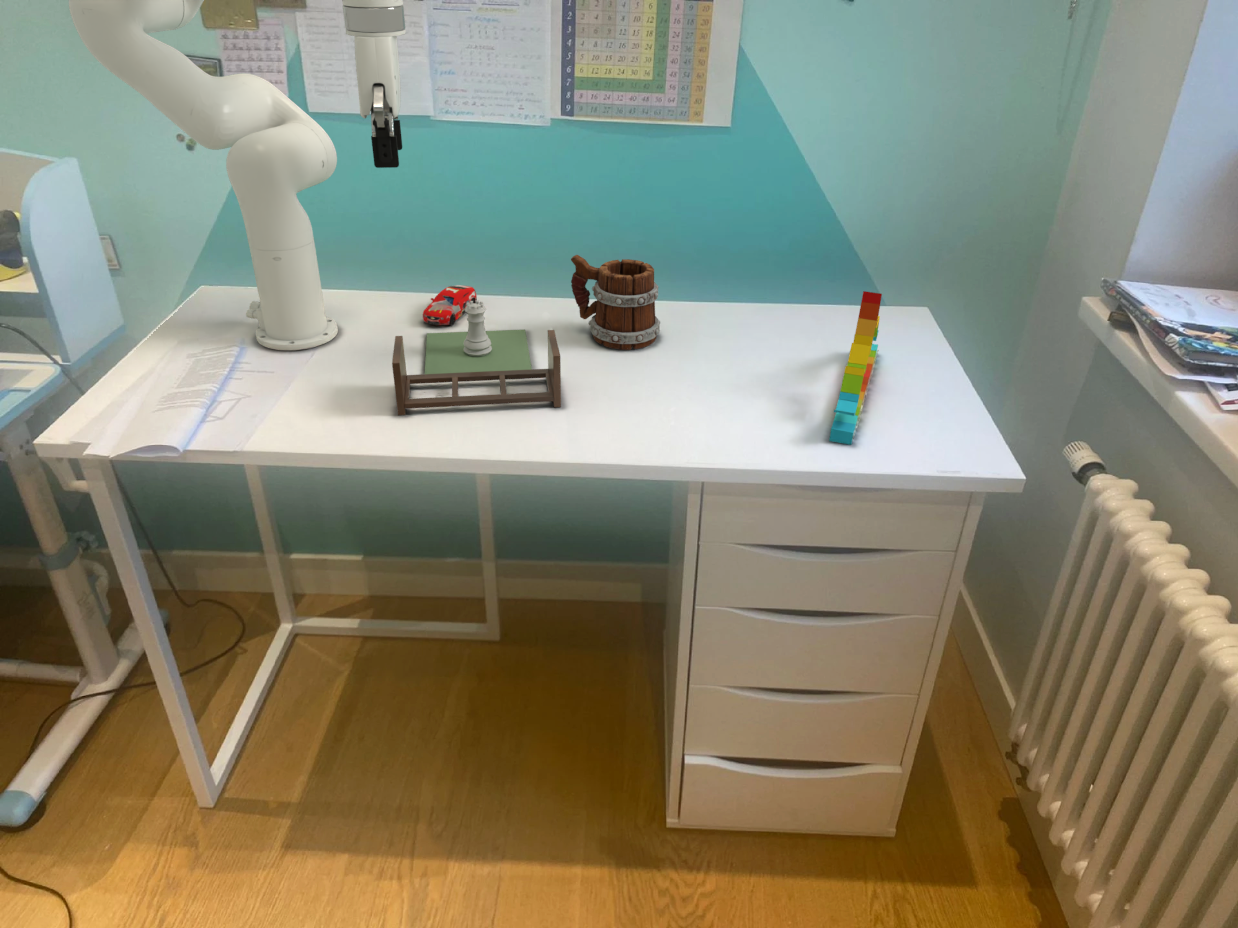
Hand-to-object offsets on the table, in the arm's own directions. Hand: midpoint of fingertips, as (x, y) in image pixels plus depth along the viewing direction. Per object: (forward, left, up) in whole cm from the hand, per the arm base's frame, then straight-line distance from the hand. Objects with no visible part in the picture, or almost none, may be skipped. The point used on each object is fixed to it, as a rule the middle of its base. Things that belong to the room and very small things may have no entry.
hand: (389, 158), depth 127 cm
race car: (-3, +18, -31) cm, 36 cm away
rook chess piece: (+9, +6, -30) cm, 32 cm away
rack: (+16, -7, -30) cm, 35 cm away
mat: (+9, +6, -30) cm, 32 cm away
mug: (+26, +21, -31) cm, 45 cm away
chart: (+66, +16, -31) cm, 75 cm away
